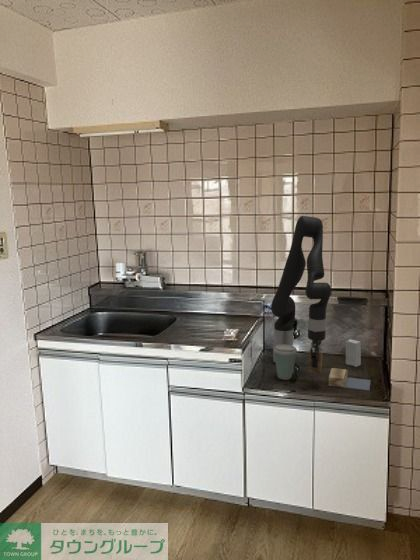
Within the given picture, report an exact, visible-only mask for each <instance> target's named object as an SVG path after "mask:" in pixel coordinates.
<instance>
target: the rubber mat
mask: <svg viewBox="0 0 420 560" xmlns="http://www.w3.org/2000/svg"><path fill="white" fill-rule="evenodd" d="M371 381H372V380H371V379H365V378H364V379H363V378H354V377H348V376H347V381H346V385H345V388H346V389H350V390H351V389H352V390H360V391H368V392H370V387H371Z"/></svg>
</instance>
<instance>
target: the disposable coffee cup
mask: <svg viewBox="0 0 420 560" xmlns="http://www.w3.org/2000/svg"><path fill="white" fill-rule="evenodd" d="M274 353H275V361H276V363H275V369H276V376H277V378H278V379H279V380H282V381H283V380H285V381H287V380H291V378H292V376H293V372H294V368H295V362H296V357H297V353H298V350H297V347H296V346H294V345H293V346H292V345H283V344H282V345H277V346H275V348H274Z"/></svg>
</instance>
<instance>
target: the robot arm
mask: <svg viewBox="0 0 420 560" xmlns="http://www.w3.org/2000/svg"><path fill="white" fill-rule="evenodd" d="M304 238H312V240H313V245H312V248H311V250H310V252H309V253H308V255H307V258H306V257H305V255H304V251H303V240H304ZM323 239H324V224H323V221H322V219H321V218H319V217H314V216H308V215H301V216H299V217H298V219H297V220H296V224H295V228H294V232H293V237H292V242H291V246H290V248H289V249H290V250H289V253H288V256H287V258H286V261H285V265H284V267H283V271H282V274H281V278H280V281H279V285H278V287H277V290H276V292H275V294H274V297H273V299H272V301H271V306H270V309H271V313H272V315H273V316H274V317H276V318H278V319H277V320H276V321H275V322H274V325H273V326H274V327H273V328H274V329H273V333H274V335H273V336H274V337H273V338H274V339H273V341H274V342H273V344H272V352H273V353H272V357H273V361H272V362H273V363H275V364H276V361H275V353H274V348H275V346H277V345H282V344H283V345H292V346H294V325H295V323H296V322H295V321H296V302H295V300H294V298H292V297H291V294H292V292H293V291H294V289H295V288H296V287H297V286H298V284H299V283H300V281H301V279H302V278H303V275H304V273H305V268H306V270H307V282H306V287H305V290H304V291H305V297H307V299H309V300H319V301H317V302H316V303H311V304H310V305H309V308H308V322H307V338H308V339H309V340H310V341H312V342H311V343H310V349H309V351H310V350H311V359H312V367H314V368H317V362H318V354H319V351H320V349H322V342H323V341H324V340H326V337H327V336H326V332H327V321H326V317H327V308H328V307H327V306H328V302H329V300H330V298H331V294H332V288H331V287H332V286H331V285H330V283H328V282H315V281H318V280H321V279H323V278H324V277H325V268H324V261H323V245H324V244H323V243H324V240H323ZM317 351H318V352H317ZM313 356H316V357H313Z"/></svg>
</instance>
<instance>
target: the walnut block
mask: <svg viewBox="0 0 420 560" xmlns="http://www.w3.org/2000/svg"><path fill="white" fill-rule="evenodd" d="M323 350H324V349H323V348H321V349H320V351H319V354H318V362H317V368H314V367H312V359H311V350H310V349H309V352H308V353H309V355H308V356H309V357H308V359H309V360H308V373H311V374H312V373H313V374H321V373H322V370H323V354H324V352H323ZM317 352H318V351H317ZM313 357H316V356H313Z"/></svg>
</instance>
